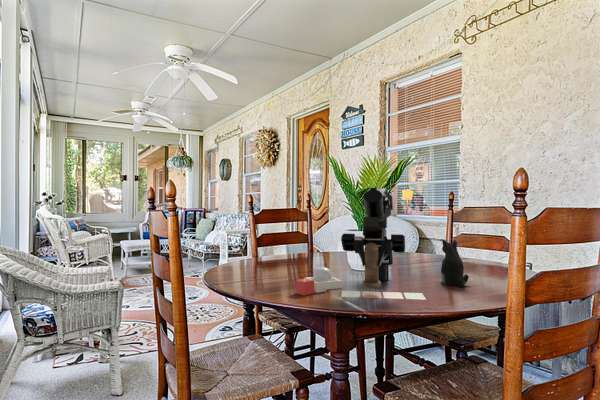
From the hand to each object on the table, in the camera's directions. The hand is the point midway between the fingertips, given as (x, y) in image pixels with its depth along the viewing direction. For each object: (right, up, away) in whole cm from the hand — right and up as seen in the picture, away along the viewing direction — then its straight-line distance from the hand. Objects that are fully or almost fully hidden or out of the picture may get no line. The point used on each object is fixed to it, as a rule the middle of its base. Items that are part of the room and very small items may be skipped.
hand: (371, 265), depth 110 cm
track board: (+3, -9, +1) cm, 10 cm away
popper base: (-13, -9, +13) cm, 21 cm away
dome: (-13, -8, +13) cm, 20 cm away
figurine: (+31, -9, +16) cm, 36 cm away
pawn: (0, -6, +1) cm, 6 cm away
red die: (-19, -9, +6) cm, 22 cm away
